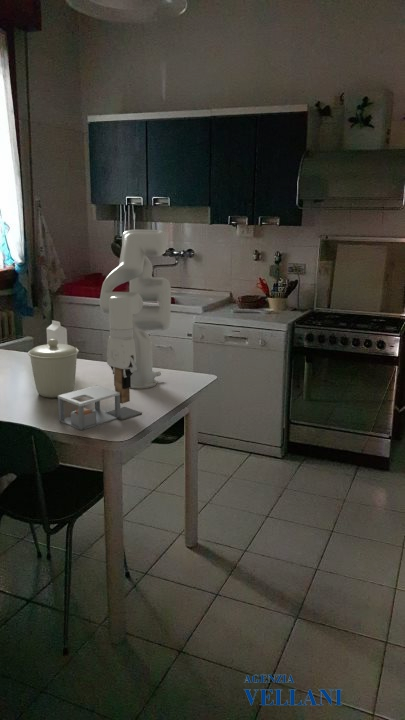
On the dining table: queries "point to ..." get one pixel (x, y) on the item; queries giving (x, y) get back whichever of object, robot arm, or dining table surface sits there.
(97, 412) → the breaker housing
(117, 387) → the brown wooden bar
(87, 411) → the breaker button
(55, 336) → the milk
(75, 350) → the canister
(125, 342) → the robot arm
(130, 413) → the pad
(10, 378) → the dining table surface
